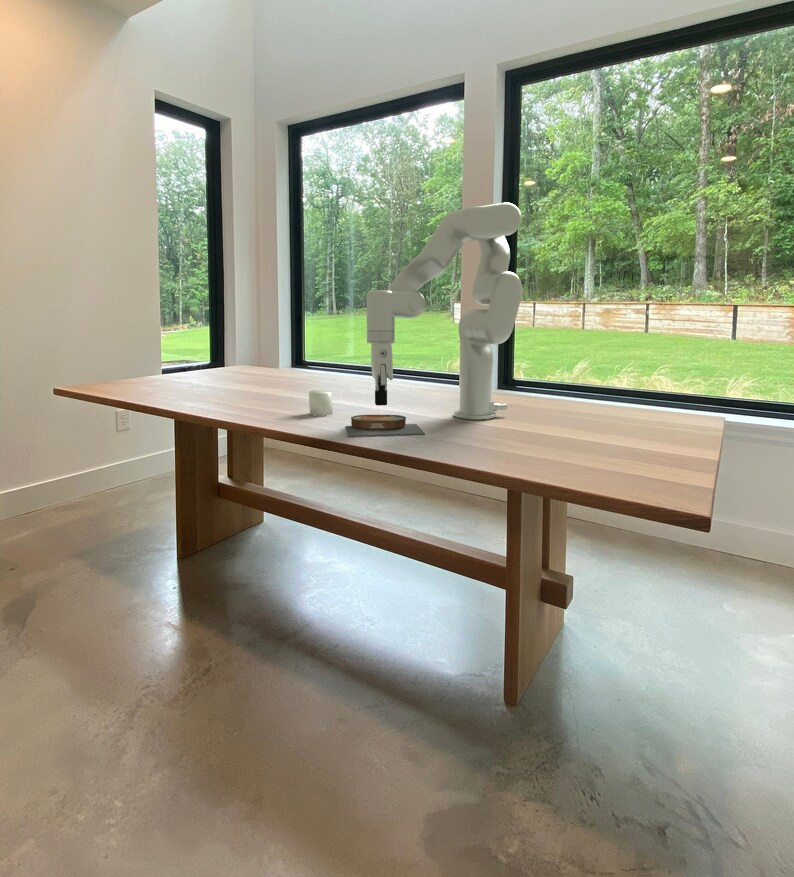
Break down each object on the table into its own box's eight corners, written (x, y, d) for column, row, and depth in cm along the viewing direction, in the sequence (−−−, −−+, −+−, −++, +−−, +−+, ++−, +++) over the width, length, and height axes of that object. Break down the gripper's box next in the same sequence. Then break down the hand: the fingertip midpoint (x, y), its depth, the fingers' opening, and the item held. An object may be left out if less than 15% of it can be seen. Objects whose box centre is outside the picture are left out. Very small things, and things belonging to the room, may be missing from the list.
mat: (416, 425, 166) (416, 423, 166) (424, 434, 154) (425, 433, 154) (345, 427, 163) (345, 425, 163) (348, 437, 151) (348, 435, 151)
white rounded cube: (332, 412, 185) (331, 389, 184) (333, 416, 179) (332, 393, 177) (309, 412, 184) (308, 390, 183) (309, 416, 178) (309, 393, 176)
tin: (406, 414, 165) (405, 418, 157) (406, 426, 166) (405, 430, 157) (352, 414, 166) (349, 417, 157) (352, 425, 166) (349, 429, 158)
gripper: (398, 339, 152) (398, 409, 156) (390, 335, 166) (390, 400, 170) (369, 339, 151) (370, 410, 155) (364, 335, 165) (364, 400, 169)
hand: (381, 404), depth 162 cm, fingers closed
